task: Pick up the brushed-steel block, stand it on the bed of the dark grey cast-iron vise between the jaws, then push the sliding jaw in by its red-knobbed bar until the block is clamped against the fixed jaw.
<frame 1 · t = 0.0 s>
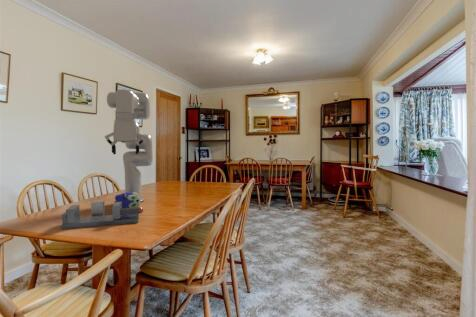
hand: (125, 154, 124), 31 cm above the table, fingers open, 9 cm apart
steel block: (98, 217, 131), on the table
toy: (126, 210, 146), on the table
vise: (103, 222, 121), on the table
sliding jaw: (128, 209, 124), point 5 cm above the table, slide at 0.0 cm
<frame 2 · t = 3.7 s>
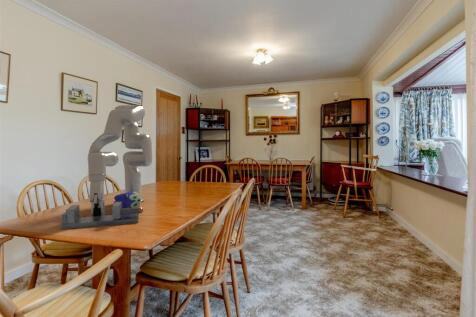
hand: (98, 214, 131), 1 cm above the table, fingers closed on steel block, 5 cm apart
steel block: (98, 217, 131), on the table, touching gripper
when the fingers open (5 cm above the table, at t = 7.9 s): steel block drops 1 cm, resting on vise.
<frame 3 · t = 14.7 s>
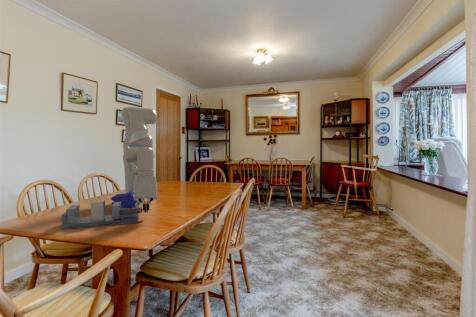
hand: (146, 211, 127), 4 cm above the table, fingers closed
steel block: (98, 218, 121), point 2 cm above the table, touching vise
sliding jaw: (128, 209, 124), point 5 cm above the table, slide at 0.3 cm, touching gripper
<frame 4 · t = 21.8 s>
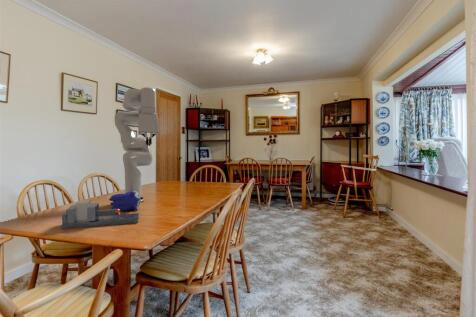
hand: (148, 145, 143), 35 cm above the table, fingers closed
steel block: (83, 219, 119), point 2 cm above the table, touching sliding jaw, vise
sliding jaw: (105, 211, 121), point 5 cm above the table, slide at 10.0 cm, touching steel block
at the end: sliding jaw slide at 10.0 cm; steel block inside the target area (0.5 cm from its centre), point 2.0 cm above the table; steel block tilted 0° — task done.
